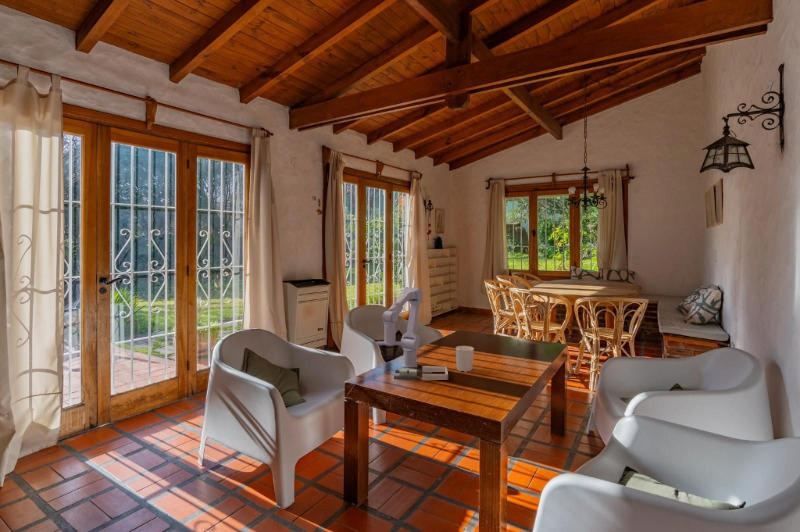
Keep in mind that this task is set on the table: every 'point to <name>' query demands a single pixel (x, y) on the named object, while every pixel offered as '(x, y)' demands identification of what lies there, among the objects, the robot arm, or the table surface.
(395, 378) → the channel
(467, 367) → the candle holder
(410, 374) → the chip
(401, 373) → the white small block
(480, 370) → the table surface
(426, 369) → the white u-shaped bracket
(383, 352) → the robot arm
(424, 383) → the table surface
